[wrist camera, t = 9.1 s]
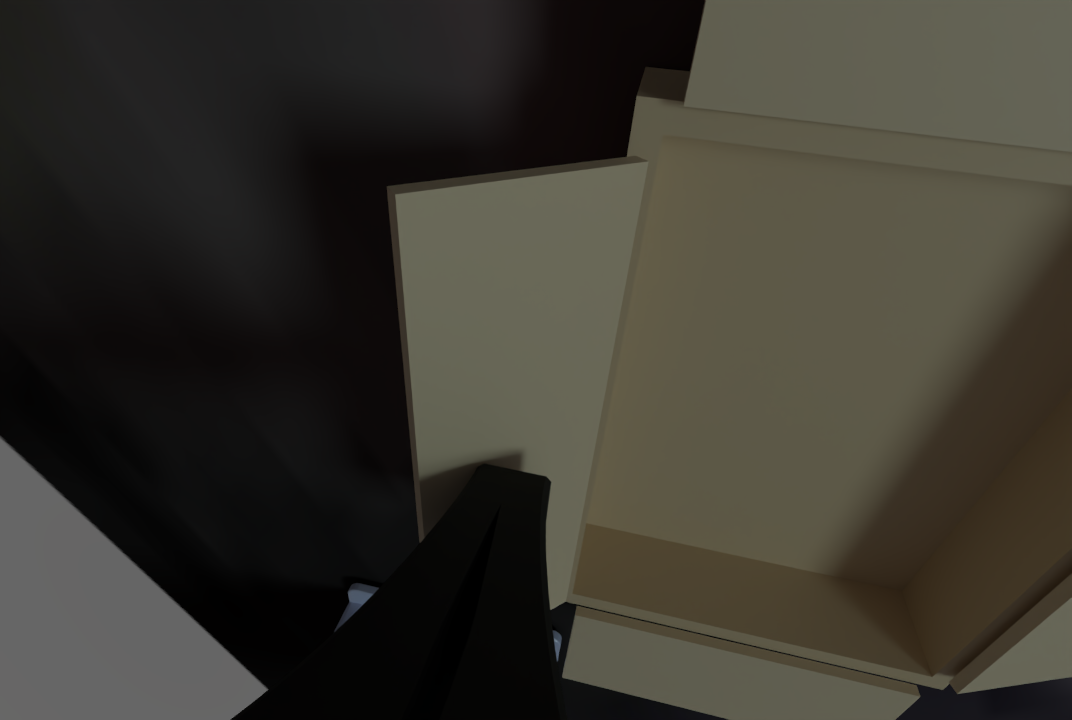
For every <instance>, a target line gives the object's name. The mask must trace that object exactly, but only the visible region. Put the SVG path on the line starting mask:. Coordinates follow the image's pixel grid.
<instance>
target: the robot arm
mask: <svg viewBox="0 0 1072 720" xmlns="http://www.w3.org/2000/svg"><path fill="white" fill-rule="evenodd" d="M550 489H551V481H550V480H549V479H548V478H547V477H546V476H542V475H537V474H532V473H528V472H523V471H518V470H513V469H508V468H504V467H499V466H494V465H489V464H485V463H484V464H482V465H480V466H478V467H477V469H476V470H475V472H474V474H473V475H472V477H471V478H470V480H469V481H468V483H467V484H466V485H465V487H464V488H463V490H462V491H461V492H460V494H459V495H458V497H457V498H456V499H455V501H454V502H453V503H452V505H451V506H450V507H449V508H448V510H447V511H446V512H445V513H444V515H443V516H442V517H441V519H440V520H439V521H438V522H437V524H436V525H435V526H434V527H433V528H432V529H431V531H430V532H429V533H428V534H427V535H426V537H425V538H424V539H423V540H422V541H421V543H420V544H419V545H418V546H417V547H416V548H415V550H414V551H413V552H412V553H411V554H410V555H409V557H408V558H407V559H406V560H405V561H404V562H403V563H402V564H401V565H400V566H399V567H398V568H397V570H396V571H395V572H394V573H393V574H392V575H391V576H390V577H389V578H388V579H387V580H386V581H385V582H384V583H383V584H382V586H381V587H380V588H378V587H374V586H370V585H366V584H361V583H354V584H352V585H351V587H350V589H349V591H348V597H349V601H350V602H349V604H348V606H347V608H346V609H345V611H344V613H343V615H342V617H341V619H340V621H339V623H338V625H337V627H336V629H335V631H334V633H333V634H332V635H331V636H330V637H329V638H328V639H327V640H325V641H324V642H323V643H322V644H321V645H320V646H319V647H318V648H317V649H315V650H314V651H313V652H312V653H311V654H310V655H309V656H307V657H306V658H305V659H304V660H303V661H302V662H300V663H299V664H298V665H297V666H296V667H295V668H294V669H292V670H291V671H290V672H289V673H288V674H287V675H286V676H284V677H283V678H282V679H281V680H280V681H278V682H277V683H276V684H275V685H274V686H272V687H271V688H270V689H269V690H268V691H266V692H265V693H264V694H263V695H262V696H260V697H259V698H258V699H257V700H255V701H254V702H253V703H252V704H250V705H249V706H248V707H246V708H245V709H244V710H242V711H241V712H240V713H239V714H237V715H236V716H235V717H233V718H232V719H231V720H567V715H566V710H565V705H564V699H563V694H562V688H561V683H560V677H559V671H558V664H557V661H558V655H559V650H560V645H561V639H562V638H561V635H560V634H559V633H558V632H556V631H555V630H553V628H552V620H551V612H550V602H549V591H548V576H547V562H546V519H547V512H548V504H549V497H550Z"/></svg>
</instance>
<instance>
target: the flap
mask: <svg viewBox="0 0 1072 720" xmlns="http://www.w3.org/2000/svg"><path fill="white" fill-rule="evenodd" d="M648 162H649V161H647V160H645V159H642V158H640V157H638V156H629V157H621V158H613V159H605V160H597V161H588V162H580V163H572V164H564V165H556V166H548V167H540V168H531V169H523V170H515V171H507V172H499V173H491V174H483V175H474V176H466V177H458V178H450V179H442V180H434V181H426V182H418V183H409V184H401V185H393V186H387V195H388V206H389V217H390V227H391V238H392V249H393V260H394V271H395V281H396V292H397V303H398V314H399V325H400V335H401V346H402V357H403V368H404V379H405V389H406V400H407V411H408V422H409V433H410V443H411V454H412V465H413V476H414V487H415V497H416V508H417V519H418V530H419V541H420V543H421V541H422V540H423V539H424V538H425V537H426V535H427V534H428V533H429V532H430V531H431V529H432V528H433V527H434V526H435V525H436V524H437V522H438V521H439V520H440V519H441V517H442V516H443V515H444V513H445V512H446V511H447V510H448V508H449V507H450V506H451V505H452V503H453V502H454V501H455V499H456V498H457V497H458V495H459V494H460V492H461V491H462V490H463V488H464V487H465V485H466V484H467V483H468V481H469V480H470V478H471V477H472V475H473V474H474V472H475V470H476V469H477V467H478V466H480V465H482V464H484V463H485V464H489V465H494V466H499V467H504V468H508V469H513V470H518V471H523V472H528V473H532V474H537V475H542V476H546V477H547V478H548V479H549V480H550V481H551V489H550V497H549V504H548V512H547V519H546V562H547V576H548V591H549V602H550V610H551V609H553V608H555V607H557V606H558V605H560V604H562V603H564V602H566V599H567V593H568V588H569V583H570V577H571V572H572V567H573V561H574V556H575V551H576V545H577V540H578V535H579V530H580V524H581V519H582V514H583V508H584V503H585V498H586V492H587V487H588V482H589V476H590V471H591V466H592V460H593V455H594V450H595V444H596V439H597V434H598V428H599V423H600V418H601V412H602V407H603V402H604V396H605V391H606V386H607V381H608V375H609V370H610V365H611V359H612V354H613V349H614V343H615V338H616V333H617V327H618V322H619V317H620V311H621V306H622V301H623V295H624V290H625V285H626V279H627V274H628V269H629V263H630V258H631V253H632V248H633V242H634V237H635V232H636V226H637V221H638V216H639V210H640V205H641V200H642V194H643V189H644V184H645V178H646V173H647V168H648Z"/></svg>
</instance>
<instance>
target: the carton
mask: <svg viewBox="0 0 1072 720" xmlns="http://www.w3.org/2000/svg"><path fill="white" fill-rule="evenodd" d="M629 156H638V157H640V158H642V159H645V160H647V161H649V162H648V168H647V173H646V178H645V184H644V189H643V194H642V200H641V205H640V210H639V216H638V221H637V226H636V232H635V237H634V242H633V248H632V253H631V258H630V263H629V269H628V274H627V279H626V285H625V290H624V295H623V301H622V306H621V311H620V317H619V322H618V327H617V333H616V338H615V343H614V349H613V354H612V359H611V365H610V370H609V375H608V381H607V386H606V391H605V396H604V402H603V407H602V412H601V418H600V423H599V428H598V434H597V439H596V444H595V450H594V455H593V460H592V466H591V471H590V476H589V482H588V487H587V492H586V498H585V503H584V508H583V514H582V519H581V524H580V530H579V535H578V540H577V545H576V551H575V556H574V561H573V567H572V572H571V577H570V583H569V588H568V593H567V599H566V602H570V603H574V604H578V605H582V606H587V607H591V608H595V609H600V610H604V611H608V612H612V613H617V614H621V615H625V616H629V617H634V618H638V619H642V620H647V621H651V622H655V623H659V624H664V625H668V626H672V627H676V628H681V629H685V630H689V631H694V632H698V633H702V634H706V635H711V636H715V637H719V638H723V639H728V640H732V641H736V642H741V643H745V644H749V645H753V646H758V647H762V648H766V649H770V650H775V651H779V652H783V653H788V654H792V655H796V656H800V657H805V658H809V659H813V660H818V661H822V662H826V663H830V664H835V665H839V666H843V667H847V668H852V669H856V670H860V671H865V672H869V673H873V674H877V675H882V676H886V677H890V678H894V679H899V680H903V681H907V682H912V683H916V684H920V685H924V686H929V687H933V688H937V689H941V690H943V689H944V688H945V687H946V686H948V685H949V684H950V683H949V681H950V680H951V679H953V678H954V677H955V676H956V675H957V674H958V673H959V672H961V671H962V670H963V669H964V668H965V667H966V666H967V665H968V664H970V663H971V662H972V661H973V660H974V659H975V658H976V657H977V656H979V655H980V654H981V653H982V652H983V651H984V650H985V649H987V648H988V647H989V646H990V645H991V644H992V643H993V642H994V641H996V640H997V639H998V638H999V637H1000V636H1001V635H1002V634H1004V633H1005V632H1006V631H1007V630H1008V629H1009V628H1010V627H1011V626H1013V625H1014V624H1015V623H1016V622H1017V621H1018V620H1019V619H1021V618H1022V617H1023V616H1024V615H1025V614H1026V613H1027V612H1028V611H1030V610H1031V609H1032V608H1033V607H1034V606H1035V605H1036V604H1037V603H1039V602H1040V601H1041V600H1042V599H1043V598H1044V597H1045V596H1047V595H1048V594H1049V593H1050V592H1051V591H1052V590H1053V589H1054V588H1056V587H1057V586H1058V585H1059V584H1060V583H1061V582H1062V581H1064V580H1065V579H1066V578H1067V577H1068V576H1069V575H1070V574H1071V573H1072V0H705V2H704V7H703V12H702V16H701V21H700V26H699V31H698V35H697V40H696V45H695V50H694V54H693V59H692V64H691V68H690V72H689V71H680V70H671V69H662V68H653V67H645V70H644V74H643V77H642V80H641V83H640V87H639V90H638V93H637V97H636V103H635V109H634V115H633V121H632V128H631V134H630V140H629V146H628V152H627V157H629ZM562 677H563V678H567V679H571V680H575V681H579V682H583V683H587V684H591V685H595V686H599V687H603V688H607V689H611V690H615V691H619V692H623V693H627V694H631V695H634V696H638V697H642V698H646V699H650V700H654V701H658V702H662V703H666V704H670V705H674V706H678V707H682V708H686V709H690V710H694V711H698V712H702V713H706V714H710V715H714V716H718V717H722V718H726V719H730V720H895V719H896V718H897V717H899V716H900V715H901V714H902V713H903V712H904V711H905V710H906V709H907V708H909V707H910V706H911V705H912V704H913V703H914V702H915V701H916V700H917V699H918V698H920V694H919V691H918V688H917V685H913V684H909V683H904V682H900V681H896V680H891V679H887V678H883V677H879V676H874V675H870V674H866V673H862V672H857V671H853V670H849V669H844V668H840V667H836V666H832V665H827V664H823V663H819V662H815V661H810V660H806V659H802V658H798V657H793V656H789V655H785V654H780V653H776V652H772V651H768V650H763V649H759V648H755V647H751V646H746V645H742V644H738V643H734V642H729V641H725V640H721V639H716V638H712V637H708V636H704V635H699V634H695V633H691V632H687V631H682V630H678V629H674V628H669V627H665V626H661V625H657V624H652V623H648V622H644V621H640V620H635V619H631V618H627V617H623V616H618V615H614V614H610V613H605V612H601V611H597V610H593V609H588V608H584V607H580V606H577V608H576V612H575V617H574V622H573V626H572V631H571V636H570V641H569V645H568V650H567V655H566V660H565V664H564V669H563V675H562Z"/></svg>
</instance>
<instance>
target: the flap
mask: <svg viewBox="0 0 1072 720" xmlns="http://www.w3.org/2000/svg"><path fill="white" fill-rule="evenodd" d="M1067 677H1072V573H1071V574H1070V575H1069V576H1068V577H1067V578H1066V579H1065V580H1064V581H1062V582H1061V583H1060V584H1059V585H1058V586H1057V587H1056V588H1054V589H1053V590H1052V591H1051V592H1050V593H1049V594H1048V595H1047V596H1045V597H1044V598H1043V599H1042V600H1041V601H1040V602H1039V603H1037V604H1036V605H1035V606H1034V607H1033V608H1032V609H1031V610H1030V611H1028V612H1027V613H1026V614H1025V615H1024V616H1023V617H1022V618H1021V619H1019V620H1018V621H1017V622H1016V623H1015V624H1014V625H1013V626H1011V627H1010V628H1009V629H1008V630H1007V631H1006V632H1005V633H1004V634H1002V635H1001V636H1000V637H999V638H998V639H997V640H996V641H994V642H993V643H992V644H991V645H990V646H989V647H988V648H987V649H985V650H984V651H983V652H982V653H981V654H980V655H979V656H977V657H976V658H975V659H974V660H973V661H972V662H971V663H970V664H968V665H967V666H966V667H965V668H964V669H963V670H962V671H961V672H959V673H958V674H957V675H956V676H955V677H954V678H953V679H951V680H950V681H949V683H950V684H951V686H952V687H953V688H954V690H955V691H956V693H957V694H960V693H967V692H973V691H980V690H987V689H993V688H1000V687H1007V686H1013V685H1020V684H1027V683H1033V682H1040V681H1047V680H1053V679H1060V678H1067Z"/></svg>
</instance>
